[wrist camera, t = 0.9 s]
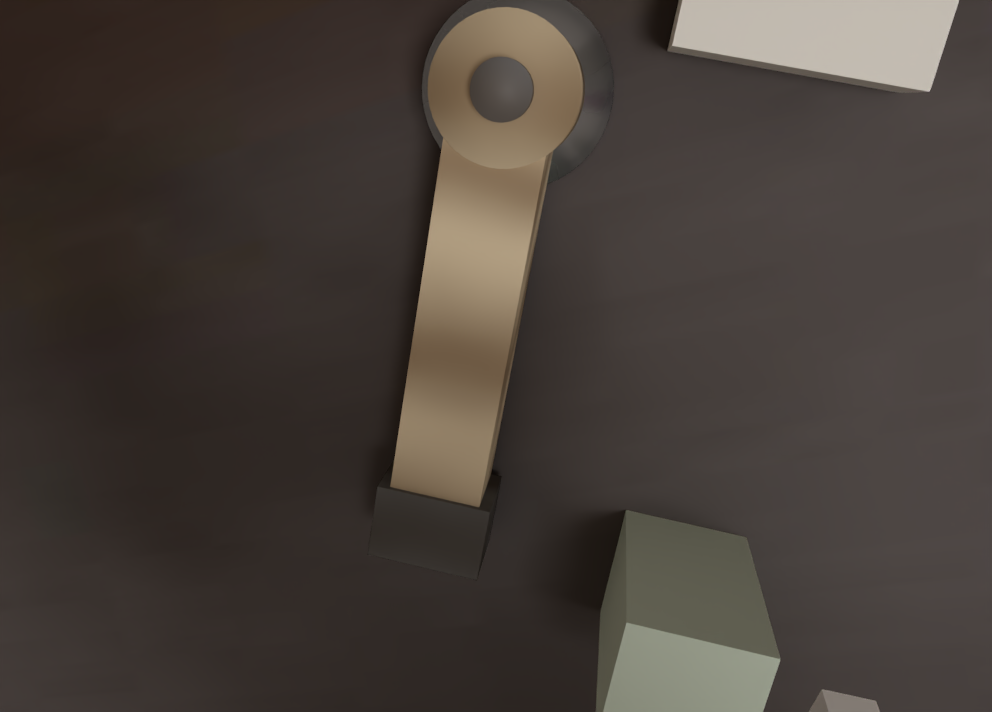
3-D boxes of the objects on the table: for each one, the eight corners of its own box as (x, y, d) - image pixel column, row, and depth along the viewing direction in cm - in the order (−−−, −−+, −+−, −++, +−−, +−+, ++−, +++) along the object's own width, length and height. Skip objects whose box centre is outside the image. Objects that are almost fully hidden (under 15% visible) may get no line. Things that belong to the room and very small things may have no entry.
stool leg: (458, 5, 30) (436, -8, 26) (598, 29, 29) (594, 20, 26) (382, 514, 36) (355, 560, 33) (496, 541, 36) (482, 590, 32)
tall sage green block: (715, 638, 36) (739, 781, 29) (600, 611, 37) (594, 744, 29) (746, 537, 35) (780, 659, 27) (625, 509, 35) (626, 622, 28)
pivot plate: (591, 204, 32) (591, 205, 32) (410, 169, 32) (409, 169, 32) (633, 6, 30) (633, 5, 29) (438, -29, 30) (437, -29, 30)
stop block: (897, 92, 29) (929, 91, 26) (667, 51, 30) (671, 45, 27) (926, -1, 28) (963, -13, 25) (687, -41, 29) (695, -58, 26)
